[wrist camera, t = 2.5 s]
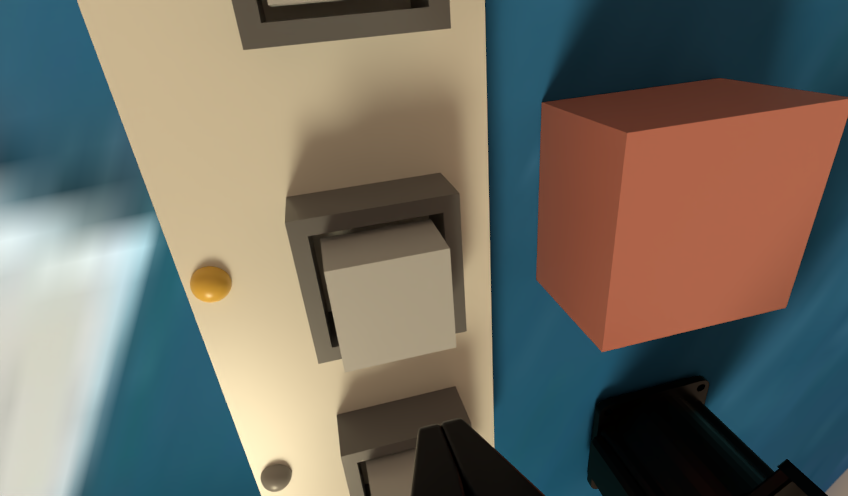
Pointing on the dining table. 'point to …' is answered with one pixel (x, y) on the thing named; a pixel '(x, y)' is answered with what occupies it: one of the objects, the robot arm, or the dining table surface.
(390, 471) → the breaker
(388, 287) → the breaker middle
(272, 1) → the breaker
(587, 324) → the terracotta orange block
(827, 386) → the dining table surface
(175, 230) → the breaker panel
